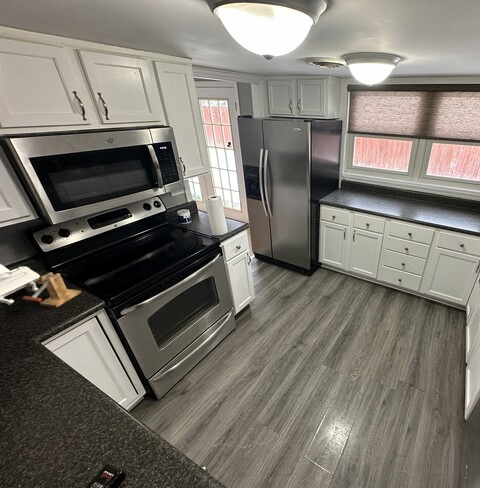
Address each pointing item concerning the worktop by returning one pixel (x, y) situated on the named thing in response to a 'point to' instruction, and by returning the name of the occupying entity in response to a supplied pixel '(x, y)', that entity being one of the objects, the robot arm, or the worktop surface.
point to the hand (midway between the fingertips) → (25, 296)
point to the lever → (38, 291)
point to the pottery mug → (29, 288)
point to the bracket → (57, 291)
